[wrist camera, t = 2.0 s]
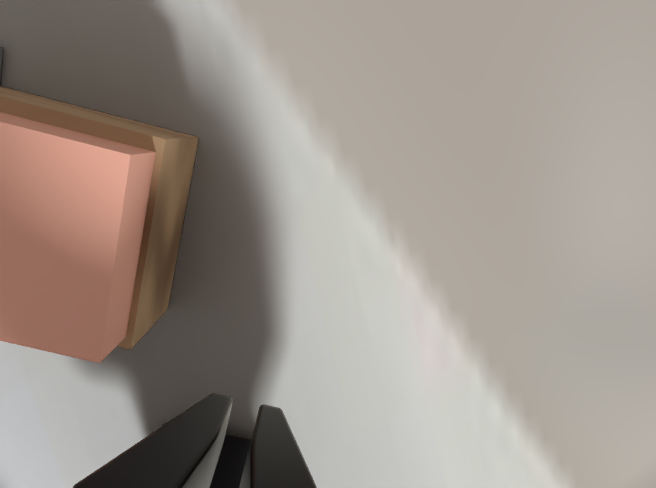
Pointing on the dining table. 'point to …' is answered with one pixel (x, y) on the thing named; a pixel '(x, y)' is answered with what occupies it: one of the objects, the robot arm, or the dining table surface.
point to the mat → (0, 59)
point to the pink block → (68, 237)
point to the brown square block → (163, 197)
